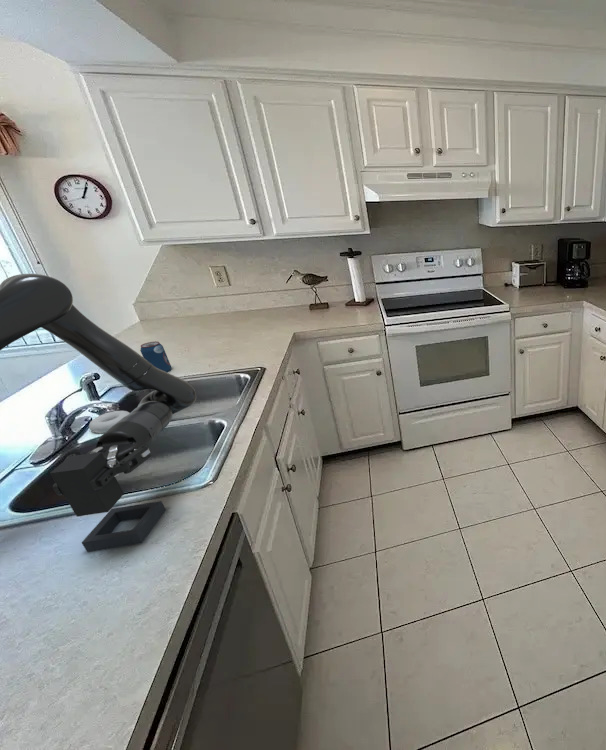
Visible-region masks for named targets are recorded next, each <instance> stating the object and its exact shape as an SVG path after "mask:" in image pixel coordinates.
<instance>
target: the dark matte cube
mask: <svg viewBox="0 0 606 750" xmlns="http://www.w3.org/2000/svg"><path fill="white" fill-rule="evenodd" d="M66 458H67V457H66ZM66 458H65V459H66ZM65 459H64V460H65ZM64 460H63V461H64ZM63 461H62V462H61V463H60V464H59V465H57V466H56V467H55V468H54V469H53V470H51V471H50V472H49V475H50V476H51V478H52V479H53V481H54V484H55V483H56V484H57V486H58V487H59V489H60V491H61V492H62V494H63V497H64V498H65V500H66V502H67V503H68V504H69V506H70V508H71V510H72V511H73V513H74V514H75V516H76V517H84V516H90V515H97V514H104V513H108V512H109V511H110V510H111V509H112V508H114V506H115V505H116V504H117V502H119V501H120V499H121V498H122V497H123V496H124V495H125V493H124V492H125V491H123V489H122V487H121V485H120V483H119V481H118V480H117V477H113V478H112V479H111V480H110V481H109V482H108V483H107V484H106V485H105V486H103V487H102V488H101V489H99V490H94V489H93V487H92V486H91V484H90V481H91V479H93V478H94V477H95V476H96V475H97V474H98V473H99V472H100V471H101V470H102V469H103V468H106V465H107V461H106V460H105V458H104V456H103V454H102V452H98V453H90V454H87V453H82V454H76V455H74V456H70V457H68V458H67V459H66V460H65V461H64V462H63Z"/></svg>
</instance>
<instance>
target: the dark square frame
mask: <svg viewBox="0 0 606 750" xmlns="http://www.w3.org/2000/svg"><path fill="white" fill-rule="evenodd" d="M166 511H167V509H166V507H165V505H164V503H163V501H162V500H158V501H152V502H147V503H139V504H133V505H125V506H119V507H112V508H111V509H110V510H109V512H106V514H105V515H104V517H103V518H102V519H101V520H100V521H99V522H98V524H96V526H94V528H93V529H92V530H91V531H90V533H88V535H87V536H86V537H85V538H83V540H82V541H81V544H82V546H83V548H84V550H85V551H86V552H87V553H92V552H98V551H104V550H111V549H116V548H121V547H128V546H133V545H139V544H143V543H144V542H145V540H146V538H147V537H148V536H149V534H150V533H151V532H152V530H153V529H154V527H155V526H156V525H157V523H158V522H159V520H160V519H161V518H162V517H163V515H164V513H165V512H166ZM131 520H139V521H137V523H136V524H135V526H134V527H133V529H127V530H122V531H116V532H113V531H114V530H115V529H116V528H117V527H118V525H119V524H120V523H121V522H125V521H131Z"/></svg>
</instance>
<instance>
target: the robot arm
mask: <svg viewBox="0 0 606 750" xmlns="http://www.w3.org/2000/svg"><path fill="white" fill-rule="evenodd" d="M73 303H74V299H73V294H72V291H71V290H70V288H69V287H68V286H67V285H66V283H64V282H62V281H60V280H59V279H57V278H55V277H52V276H49V275H46V274H41V273H21V274H20V273H19V274H15V275H12V276H9V277H7V278H6V279H4V280H2V281H1V282H0V351H2V350H3V349H5V348H6V347H8V346H10V345H11V344H13V343H14V342H16V341H18V340H19V339H22V338H24V337H26V336H27V335H29V334H31V333H33V332H35V331H37V330H39V329H40V328H41V329H43V330H45V331H46V332H48V333H50V334H52V335H54V336H55V337H57V338H58V339H59V340H61V341H63V342H65V344H67V345H69V346H70V347H72V348H73V349H75V351H77V352H78V353H80V354H81V355H83V356H84V357H85V358H86V359H88V360H89V361H90V362H92V363H93V364H94V365H95V366H97V368H99V369H100V370H102V371H103V372H104V373H106V374H107V375H109V376H110V377H111V378H113V379H114V380H115V381H117V383H120V385H122V386H124V387H125V388H127V389H128V390H130V391H133V392H140V391H146V390H153V391H151V392H149V393H148V394H146V395H145V396H144V397H143V398H142V399H141V400H140V402H139V403H138V405H137V407H135V408H134V409H133V410H132V411H131V412H129V413H130V414H128V415H127V416H125V417H123V418H122V419H121V420H119V421H118V422H117V423H116V424H115V425H114V426H112V427H111V428H110V429H109V430H108V431H106V432H105V433H102V435H100V437H99V438H98V439H97V442H96V446H95V447H94V448H93V449H91V450H89V451H88V452H86V454H90V453H98V452H102V454H103V456H104V458H105V460H106V461H107V465H106V468H103V469H102V470H101V471H100V472H99V473H98V474H97V475H96V476H95V477H94V478H93V479H91V481H90V484H91V486H92V487H93V489H94V490H99V489H101V488H102V487H103V486H105V485H106V484H107V483H108V482H109V481H110V480H111V479H112V478H113V477H115V478H117V477H118V476H120V474H122V473H123V474H125V475H127V474H130V473H132V472H133V471H134V470H136V469H138V467H139V466H141V465H142V464H143V463H145V462H146V461H147V460H148V459H150V458H151V457H152V456H153V455H152V452H151V450H150V448H149V447H150V446H151V445H153V443H154V442H155V441H156V439H157V438H158V437H159V436H160V434H161V433H162V432H163V431H164V429H165V428H167V426H169V424H170V423H171V421H172V419H173V415H174V414H176V413H179V412H181V411H182V410H184V409H187V408H189V407H191V406H192V405H194V404H195V403H196V401H197V397H198V396H197V392H196V390H195V387H193V385H191V384H190V383H189V382H188V381H186V380H184V379H182V378H180V377H178V376H176V375H175V374H171V373H169V372H165V371H163V370H160V369H158V368H156V367H155V366H153V365H152V364H151V363H150V362H148V361H147V360H146V359H145V358H143V356H142V354H140V353H138V352H137V351H136V350H134V349H133V348H131V347H130V346H129V345H128V344H126V343H124V342H122V341H121V340H120V339H118V338H116V337H115V336H113V335H111V334H110V333H108V332H107V331H105V330H104V329H102V328H101V327H99V326H98V325H97V324H96V323H94V322H93V321H91V320H90V319H89V318H88V317H87V316H86V315H84V314H83V313H82V312H81V311H80V310H79V309H78V308H77V307H76V306H75V305H74V304H73ZM74 455H77V454H76V453H72V454H69V455H67V456H66V458H64V460H63V461H62V462H64V461H65V460H66V459H67V458H68V457H70V456H74ZM130 462H131V464H130ZM52 490H53V491H54V492H55V494H56V495H57V496H62V495H63V494H62V492H61V491H60V489H59V487H58V486H57V484H56V483H55V482H54V483H53V485H52ZM63 496H64V495H63Z"/></svg>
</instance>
